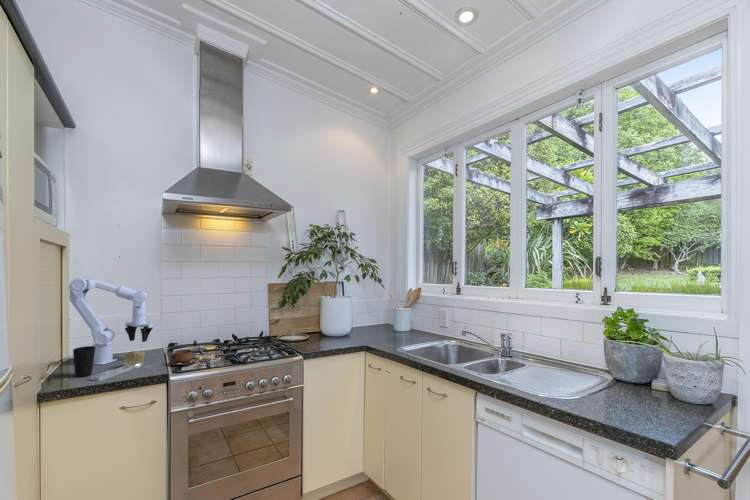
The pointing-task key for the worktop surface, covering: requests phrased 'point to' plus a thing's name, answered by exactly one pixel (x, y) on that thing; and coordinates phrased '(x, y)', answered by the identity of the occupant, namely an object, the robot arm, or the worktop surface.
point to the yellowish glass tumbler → (134, 357)
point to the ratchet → (115, 372)
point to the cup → (83, 361)
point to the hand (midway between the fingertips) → (138, 341)
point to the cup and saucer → (182, 357)
